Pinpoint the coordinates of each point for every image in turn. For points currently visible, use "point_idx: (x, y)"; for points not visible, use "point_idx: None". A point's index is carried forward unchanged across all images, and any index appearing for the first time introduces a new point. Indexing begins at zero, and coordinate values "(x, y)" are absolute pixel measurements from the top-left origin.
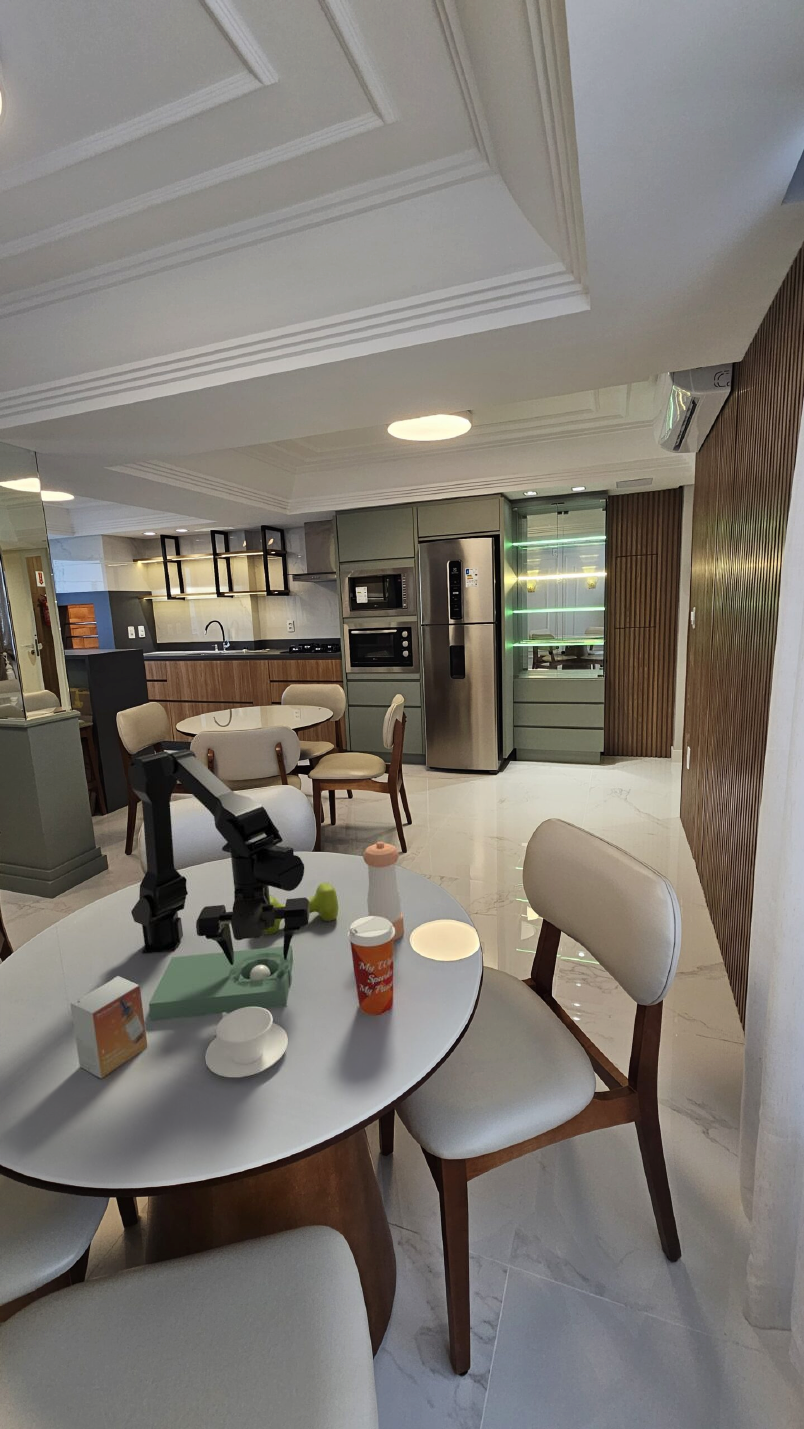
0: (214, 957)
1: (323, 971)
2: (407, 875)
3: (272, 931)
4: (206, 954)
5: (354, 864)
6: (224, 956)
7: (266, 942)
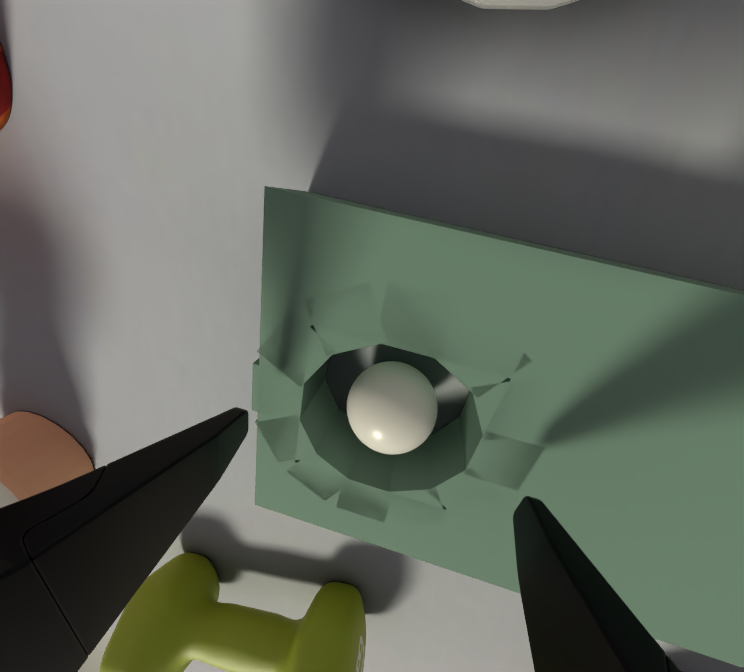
0: None
1: (186, 362)
2: None
3: (335, 590)
4: None
5: None
6: None
7: (358, 561)
